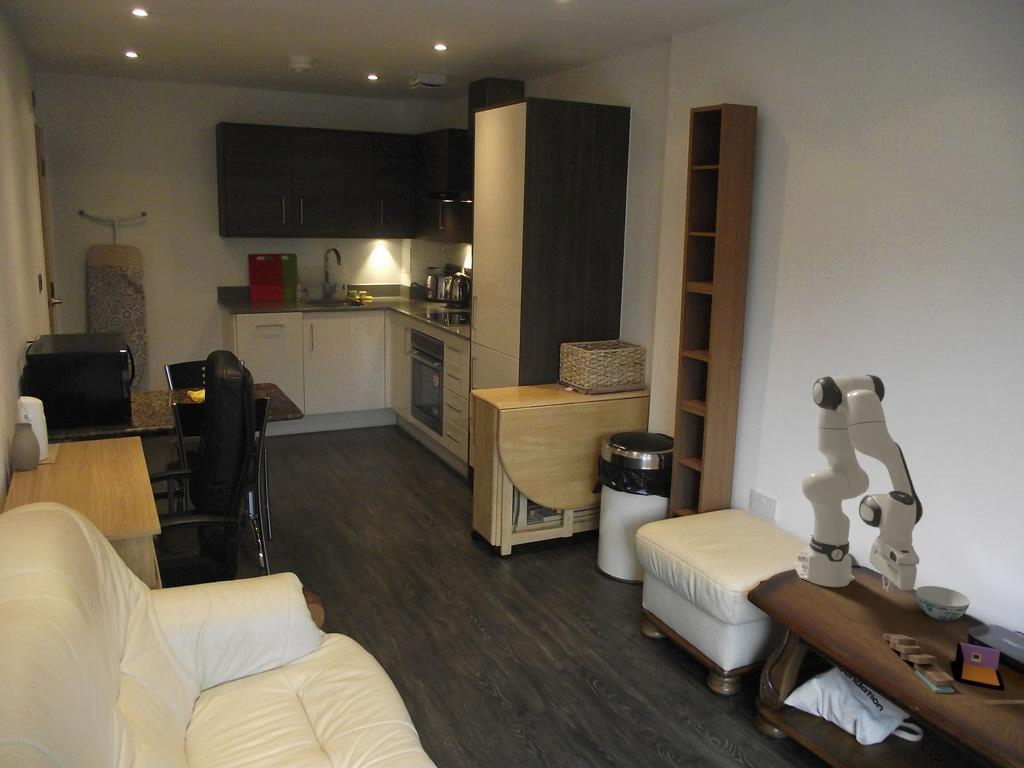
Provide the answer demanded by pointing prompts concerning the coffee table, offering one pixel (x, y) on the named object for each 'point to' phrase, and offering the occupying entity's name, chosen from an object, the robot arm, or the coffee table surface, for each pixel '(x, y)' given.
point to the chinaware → (942, 602)
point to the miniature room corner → (977, 666)
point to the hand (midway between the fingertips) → (887, 590)
